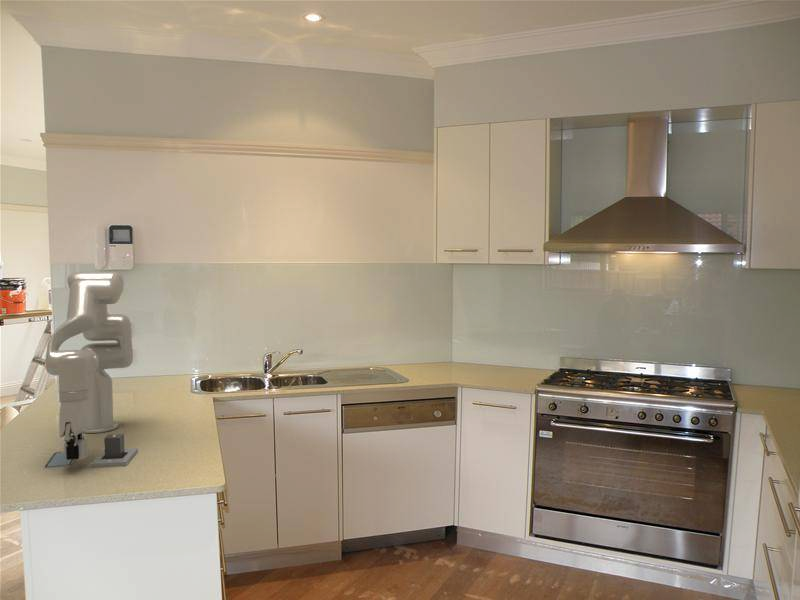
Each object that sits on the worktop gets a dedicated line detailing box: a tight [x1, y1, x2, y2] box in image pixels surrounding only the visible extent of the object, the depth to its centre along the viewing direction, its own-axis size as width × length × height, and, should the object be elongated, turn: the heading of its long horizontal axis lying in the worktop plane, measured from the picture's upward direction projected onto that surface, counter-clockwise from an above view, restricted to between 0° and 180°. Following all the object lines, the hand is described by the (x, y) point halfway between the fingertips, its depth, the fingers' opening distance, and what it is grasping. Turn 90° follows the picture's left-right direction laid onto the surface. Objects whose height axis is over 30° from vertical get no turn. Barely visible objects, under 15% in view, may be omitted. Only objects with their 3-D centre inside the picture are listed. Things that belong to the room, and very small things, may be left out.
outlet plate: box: [89, 447, 139, 468], centre depth 192 cm, size 14×10×1 cm
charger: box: [103, 433, 125, 459], centre depth 192 cm, size 4×4×7 cm
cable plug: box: [60, 438, 88, 461], centre depth 184 cm, size 4×6×5 cm, turn 99°
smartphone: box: [43, 451, 75, 469], centre depth 192 cm, size 7×1×15 cm
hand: (75, 456), depth 184 cm, fingers closed on cable plug, 3 cm apart
